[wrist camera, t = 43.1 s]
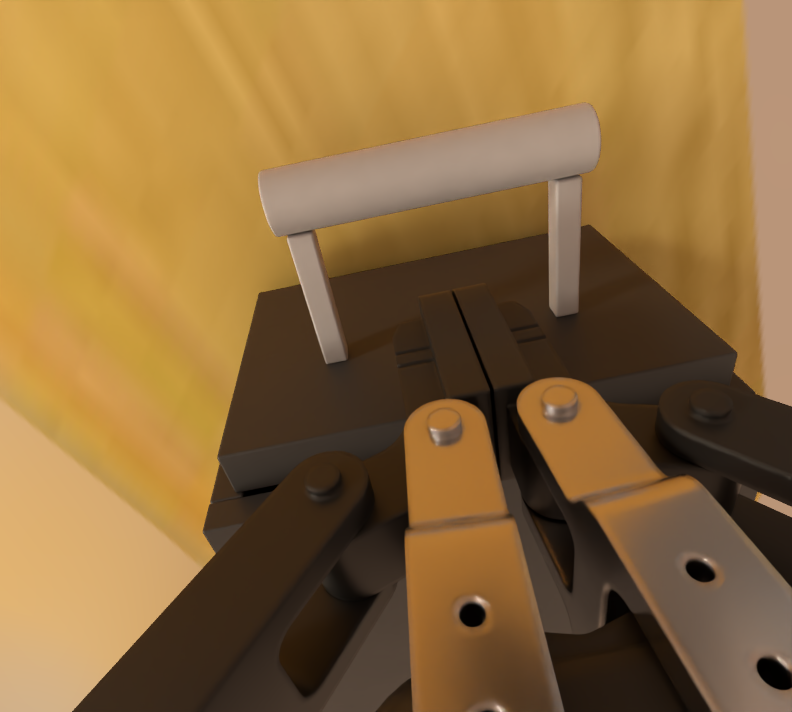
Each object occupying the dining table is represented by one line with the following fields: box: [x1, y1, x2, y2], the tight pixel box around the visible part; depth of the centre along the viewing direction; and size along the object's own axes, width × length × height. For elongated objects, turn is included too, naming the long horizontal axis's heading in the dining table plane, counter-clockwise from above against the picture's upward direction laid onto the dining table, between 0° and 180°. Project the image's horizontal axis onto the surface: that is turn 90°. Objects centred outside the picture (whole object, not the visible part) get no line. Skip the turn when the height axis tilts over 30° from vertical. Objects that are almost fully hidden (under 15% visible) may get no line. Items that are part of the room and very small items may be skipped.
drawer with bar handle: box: [218, 103, 737, 493], centre depth 17 cm, size 18×11×8 cm, turn 10°
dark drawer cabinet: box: [203, 372, 759, 712], centre depth 19 cm, size 15×13×10 cm
